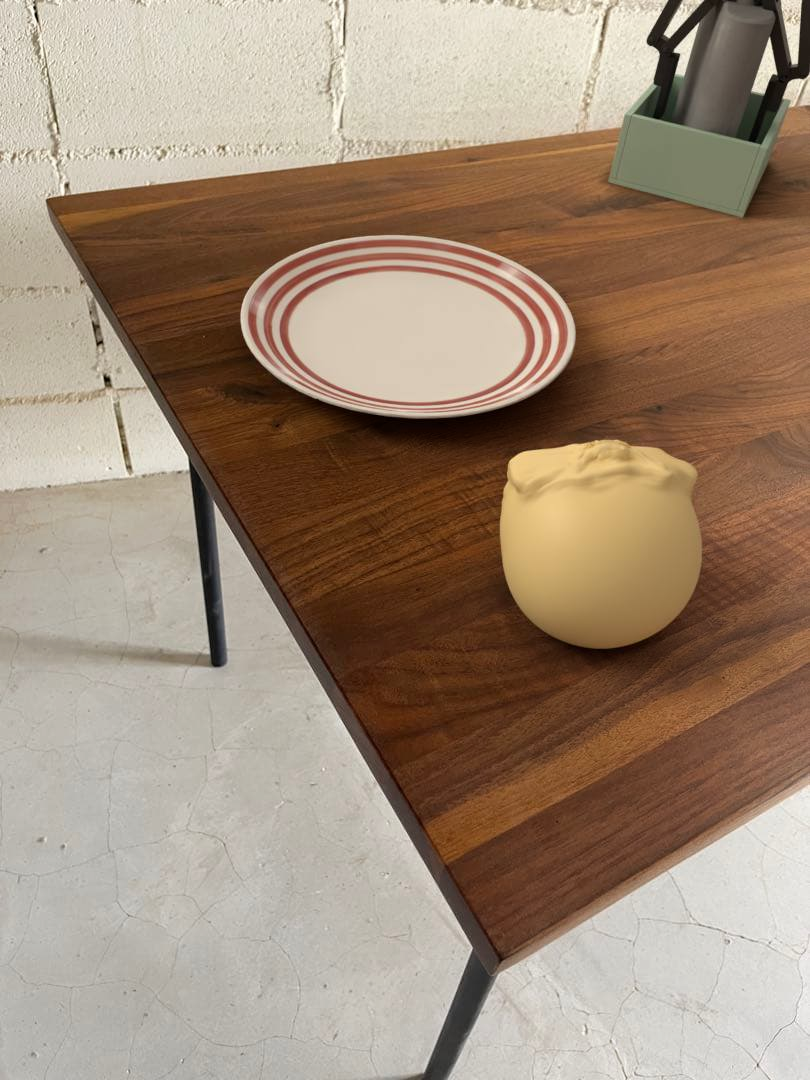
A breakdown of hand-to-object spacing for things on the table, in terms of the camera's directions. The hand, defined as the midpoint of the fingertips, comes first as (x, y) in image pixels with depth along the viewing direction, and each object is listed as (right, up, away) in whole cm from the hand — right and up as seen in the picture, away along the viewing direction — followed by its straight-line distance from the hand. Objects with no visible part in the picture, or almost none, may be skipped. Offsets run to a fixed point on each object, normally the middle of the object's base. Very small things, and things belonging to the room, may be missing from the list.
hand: (705, 127), depth 102 cm
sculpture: (-24, -51, -46) cm, 73 cm away
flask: (0, -3, +3) cm, 5 cm away
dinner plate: (-35, -31, -27) cm, 54 cm away
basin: (0, -4, +4) cm, 5 cm away
